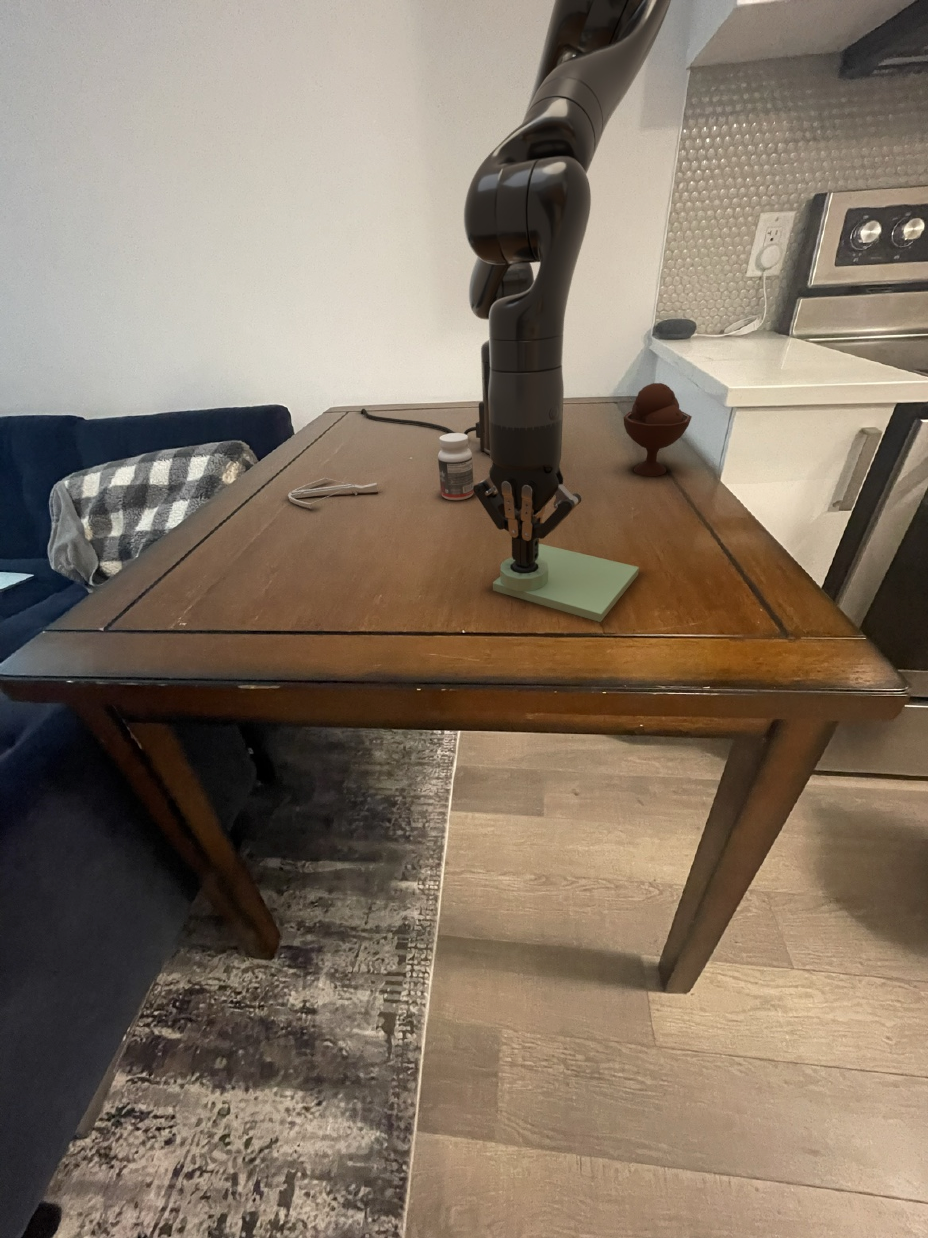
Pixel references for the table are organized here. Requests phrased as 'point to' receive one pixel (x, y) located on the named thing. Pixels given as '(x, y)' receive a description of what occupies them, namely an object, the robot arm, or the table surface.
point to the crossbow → (327, 491)
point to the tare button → (524, 570)
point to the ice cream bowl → (655, 424)
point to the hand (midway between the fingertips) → (524, 563)
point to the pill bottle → (455, 467)
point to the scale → (569, 582)
